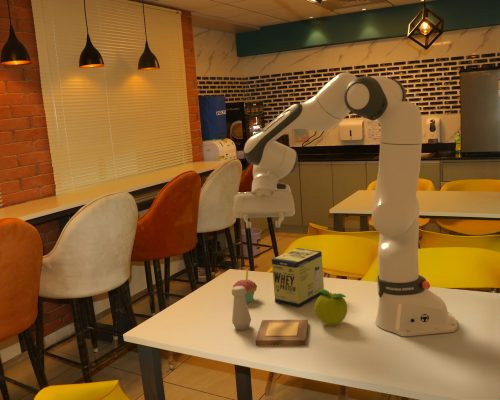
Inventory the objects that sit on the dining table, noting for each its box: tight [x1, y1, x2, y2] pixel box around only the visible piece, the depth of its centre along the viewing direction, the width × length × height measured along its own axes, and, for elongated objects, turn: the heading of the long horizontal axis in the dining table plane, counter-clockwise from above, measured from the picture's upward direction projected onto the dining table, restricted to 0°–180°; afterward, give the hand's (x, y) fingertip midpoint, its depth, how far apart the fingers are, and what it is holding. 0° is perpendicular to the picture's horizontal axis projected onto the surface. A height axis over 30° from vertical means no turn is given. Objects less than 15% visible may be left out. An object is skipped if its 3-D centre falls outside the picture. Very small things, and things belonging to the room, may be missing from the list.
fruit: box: [314, 288, 348, 327], centre depth 153 cm, size 9×9×10 cm
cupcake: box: [232, 267, 258, 303], centre depth 179 cm, size 9×8×12 cm
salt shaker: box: [231, 286, 252, 331], centre depth 156 cm, size 6×6×13 cm
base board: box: [254, 318, 309, 346], centre depth 150 cm, size 14×14×2 cm
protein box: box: [271, 247, 325, 309], centre depth 176 cm, size 10×16×16 cm
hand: (263, 227), depth 163 cm, fingers open, 8 cm apart
